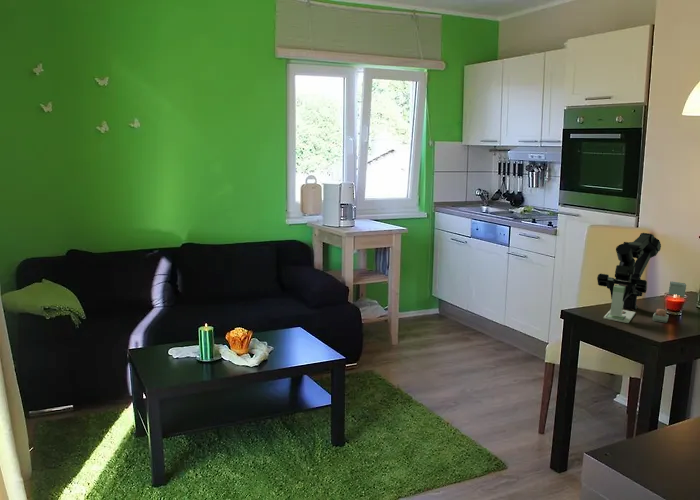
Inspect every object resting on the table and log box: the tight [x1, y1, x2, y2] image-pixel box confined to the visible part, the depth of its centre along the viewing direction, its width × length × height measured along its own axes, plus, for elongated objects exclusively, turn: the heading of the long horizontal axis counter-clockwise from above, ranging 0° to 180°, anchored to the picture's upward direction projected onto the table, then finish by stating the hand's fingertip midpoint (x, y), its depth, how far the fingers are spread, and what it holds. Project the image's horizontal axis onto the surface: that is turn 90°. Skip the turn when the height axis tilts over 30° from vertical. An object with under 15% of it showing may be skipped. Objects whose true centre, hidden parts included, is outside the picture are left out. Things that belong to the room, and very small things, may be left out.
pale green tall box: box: [609, 284, 626, 317], centre depth 252 cm, size 4×4×12 cm
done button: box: [655, 308, 667, 316], centre depth 253 cm, size 4×4×2 cm
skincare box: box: [667, 281, 687, 298], centre depth 269 cm, size 6×4×12 cm
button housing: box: [652, 312, 669, 324], centre depth 253 cm, size 5×5×2 cm
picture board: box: [602, 308, 636, 324], centre depth 257 cm, size 18×10×1 cm, turn 147°
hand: (617, 299), depth 251 cm, fingers closed on pale green tall box, 4 cm apart
